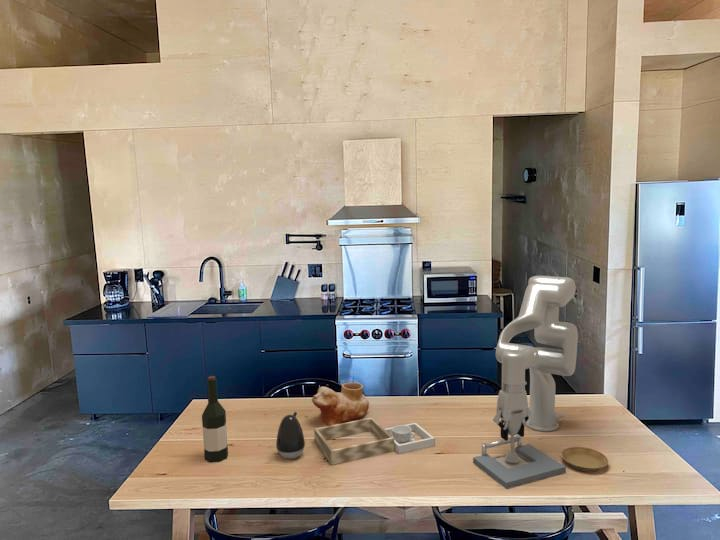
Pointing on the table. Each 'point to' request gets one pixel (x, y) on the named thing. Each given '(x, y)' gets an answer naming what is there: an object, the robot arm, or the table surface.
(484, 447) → the metal bar handle
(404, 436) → the teacup
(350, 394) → the ceramic vessel
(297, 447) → the dark grey pear figure
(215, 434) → the wine bottle
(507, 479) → the grey rectangular frame
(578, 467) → the plant saucer
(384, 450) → the beige brown patterned tray
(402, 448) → the square frame
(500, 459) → the felt pad
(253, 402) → the table surface
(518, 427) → the chalice
